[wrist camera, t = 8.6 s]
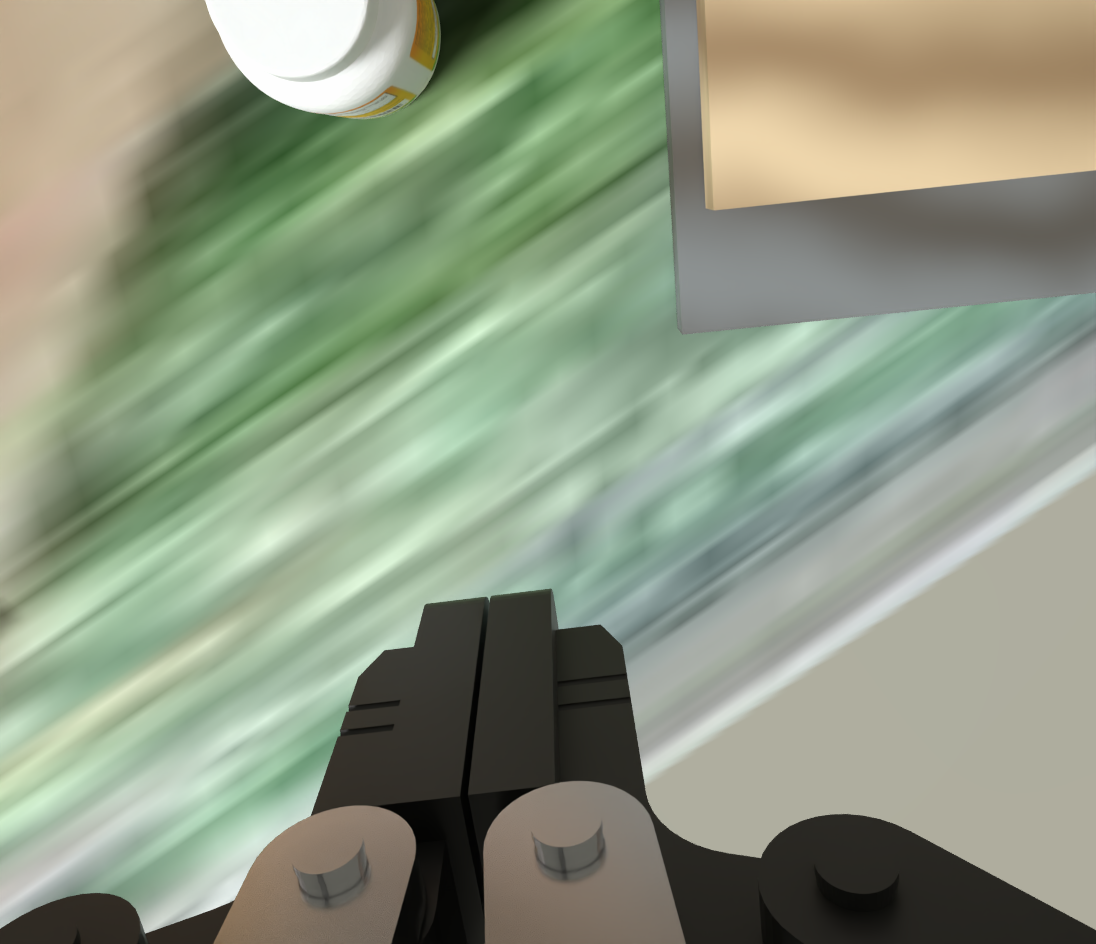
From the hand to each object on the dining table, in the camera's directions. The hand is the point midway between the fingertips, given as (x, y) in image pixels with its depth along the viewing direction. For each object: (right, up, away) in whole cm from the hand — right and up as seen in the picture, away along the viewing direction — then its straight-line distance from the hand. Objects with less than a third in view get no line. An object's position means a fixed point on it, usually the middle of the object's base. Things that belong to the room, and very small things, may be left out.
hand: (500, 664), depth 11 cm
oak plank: (+14, +16, +19) cm, 28 cm away
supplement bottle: (-6, +17, +20) cm, 27 cm away
